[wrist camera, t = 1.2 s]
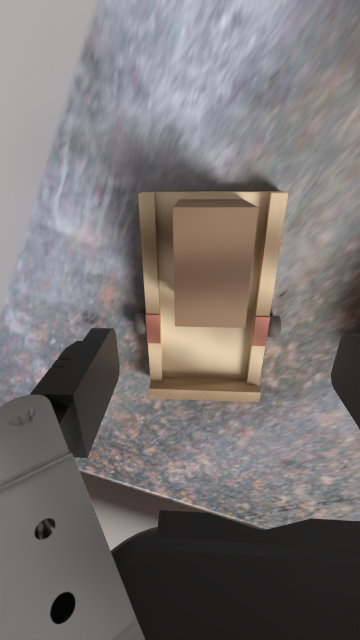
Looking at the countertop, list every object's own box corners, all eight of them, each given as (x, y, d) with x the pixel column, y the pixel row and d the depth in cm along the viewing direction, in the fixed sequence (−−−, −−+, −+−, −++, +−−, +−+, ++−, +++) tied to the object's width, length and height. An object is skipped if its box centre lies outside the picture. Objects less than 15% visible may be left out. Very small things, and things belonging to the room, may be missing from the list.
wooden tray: (128, 191, 23) (118, 194, 20) (296, 191, 23) (310, 193, 20) (143, 377, 32) (138, 397, 29) (264, 381, 31) (271, 402, 28)
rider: (179, 199, 22) (172, 207, 17) (243, 199, 22) (258, 207, 17) (179, 295, 26) (174, 326, 20) (235, 295, 26) (245, 328, 20)
